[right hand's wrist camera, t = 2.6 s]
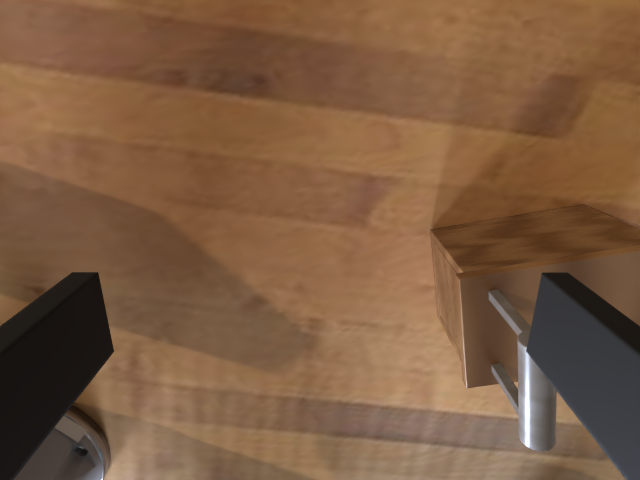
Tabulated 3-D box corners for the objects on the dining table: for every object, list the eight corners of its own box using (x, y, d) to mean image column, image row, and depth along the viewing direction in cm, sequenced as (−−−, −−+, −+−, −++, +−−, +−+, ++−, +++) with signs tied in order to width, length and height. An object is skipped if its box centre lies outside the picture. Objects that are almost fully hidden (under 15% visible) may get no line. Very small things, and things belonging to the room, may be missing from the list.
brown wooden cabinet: (437, 317, 42) (469, 379, 33) (429, 229, 39) (462, 271, 30) (579, 295, 41) (652, 353, 32) (583, 204, 38) (664, 239, 29)
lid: (462, 380, 33) (506, 470, 25) (454, 273, 30) (502, 338, 22) (652, 353, 32) (758, 438, 24) (665, 240, 29) (791, 295, 21)
